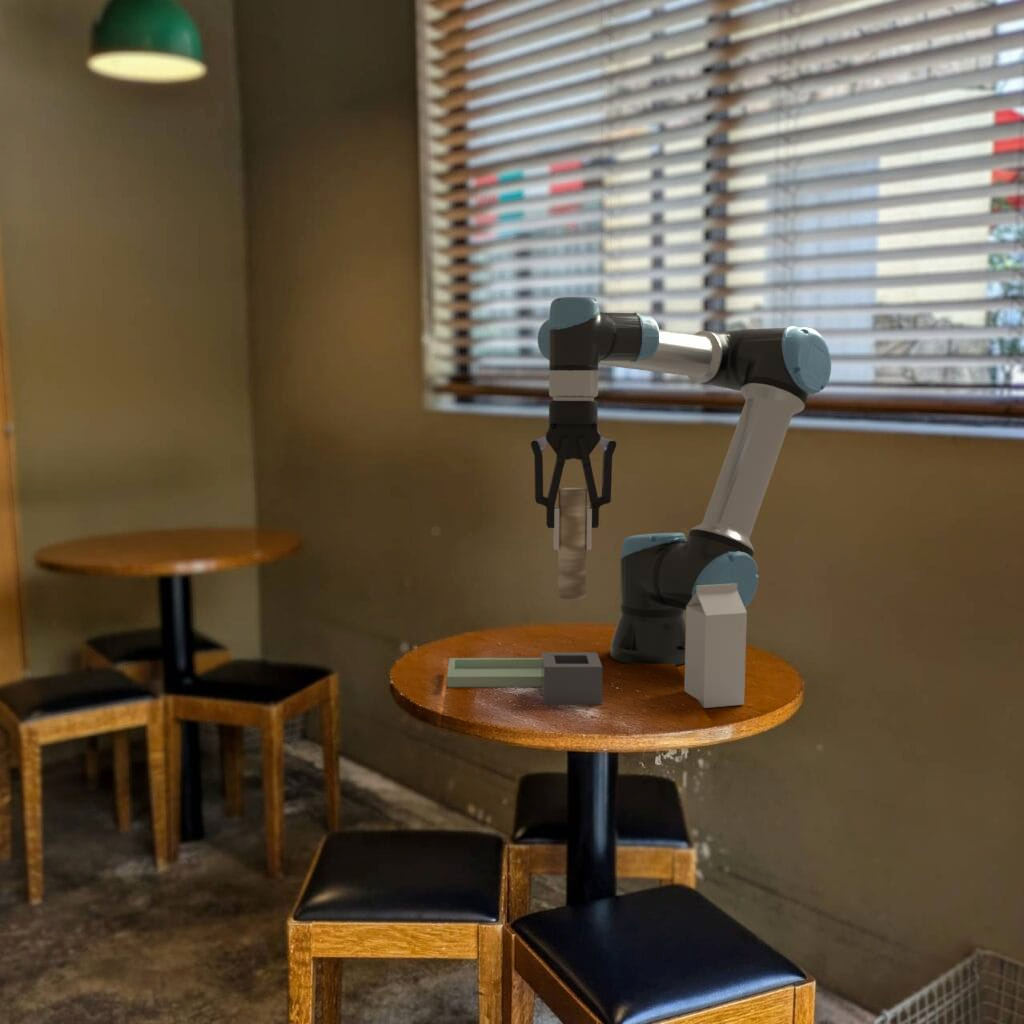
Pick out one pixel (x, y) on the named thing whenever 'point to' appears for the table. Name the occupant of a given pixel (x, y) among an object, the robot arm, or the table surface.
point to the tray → (494, 672)
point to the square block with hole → (571, 678)
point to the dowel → (572, 543)
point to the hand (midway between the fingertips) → (572, 548)
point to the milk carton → (715, 646)
